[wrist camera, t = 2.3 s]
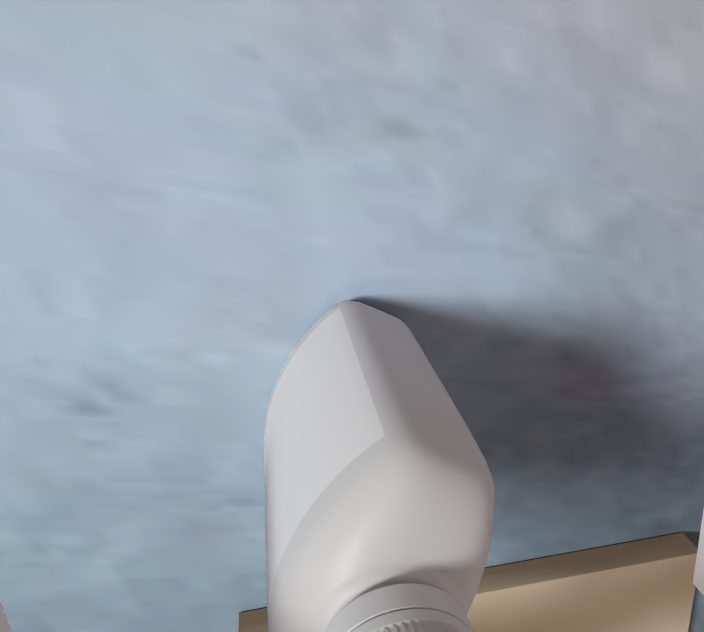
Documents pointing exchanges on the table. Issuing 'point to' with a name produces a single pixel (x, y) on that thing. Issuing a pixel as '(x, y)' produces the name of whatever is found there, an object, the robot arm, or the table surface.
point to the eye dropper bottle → (370, 485)
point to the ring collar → (580, 591)
